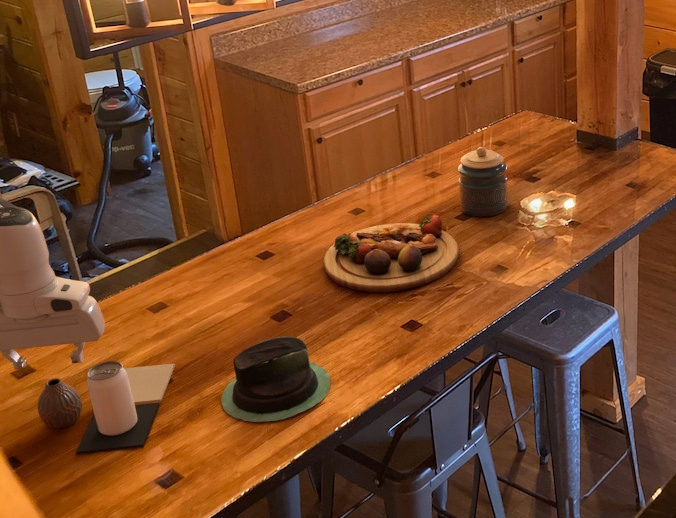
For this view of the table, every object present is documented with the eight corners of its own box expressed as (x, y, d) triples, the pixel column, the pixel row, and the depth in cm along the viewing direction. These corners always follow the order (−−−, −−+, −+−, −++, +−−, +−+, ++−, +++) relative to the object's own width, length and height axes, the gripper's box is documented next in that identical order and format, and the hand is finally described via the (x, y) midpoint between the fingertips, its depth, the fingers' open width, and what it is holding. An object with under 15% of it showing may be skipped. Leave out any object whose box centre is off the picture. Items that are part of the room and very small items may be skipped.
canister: (508, 197, 264) (506, 137, 257) (507, 217, 252) (505, 156, 245) (461, 198, 263) (458, 138, 256) (458, 218, 251) (454, 157, 244)
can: (107, 414, 174) (93, 360, 170) (143, 413, 175) (130, 358, 170) (92, 437, 169) (77, 381, 164) (130, 436, 169) (116, 380, 164)
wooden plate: (427, 220, 250) (424, 191, 247) (481, 270, 226) (480, 239, 223) (306, 251, 234) (302, 221, 231) (351, 308, 210) (347, 275, 206)
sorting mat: (76, 454, 165) (75, 451, 165) (116, 371, 188) (115, 368, 188) (143, 447, 167) (142, 444, 167) (175, 365, 190) (174, 362, 189)
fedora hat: (296, 342, 196) (356, 382, 184) (229, 416, 188) (288, 462, 176) (256, 302, 185) (317, 341, 174) (184, 378, 177) (243, 424, 166)
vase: (93, 416, 175) (83, 376, 172) (60, 438, 169) (49, 397, 166) (68, 406, 178) (57, 367, 174) (34, 427, 172) (22, 387, 168)
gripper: (-44, 312, 158) (-21, 381, 164) (87, 300, 162) (105, 368, 167) (-28, 293, 164) (-7, 360, 170) (98, 282, 167) (115, 348, 173)
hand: (50, 364), depth 169 cm, fingers open, 8 cm apart
